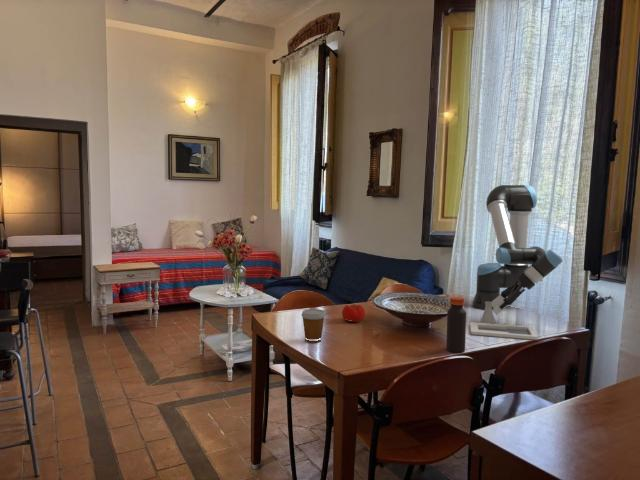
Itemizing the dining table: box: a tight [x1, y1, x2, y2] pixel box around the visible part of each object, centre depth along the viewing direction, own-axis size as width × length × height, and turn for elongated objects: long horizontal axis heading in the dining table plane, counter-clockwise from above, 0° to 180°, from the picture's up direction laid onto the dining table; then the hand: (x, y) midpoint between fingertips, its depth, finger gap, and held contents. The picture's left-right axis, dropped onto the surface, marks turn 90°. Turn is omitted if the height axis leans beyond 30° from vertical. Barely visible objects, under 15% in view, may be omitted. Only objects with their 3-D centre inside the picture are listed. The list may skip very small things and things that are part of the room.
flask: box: [479, 302, 497, 324], centre depth 213 cm, size 7×7×10 cm
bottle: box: [445, 296, 467, 354], centre depth 173 cm, size 7×7×20 cm
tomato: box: [341, 303, 366, 323], centre depth 215 cm, size 11×11×8 cm
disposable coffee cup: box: [301, 308, 326, 344], centre depth 184 cm, size 10×10×12 cm
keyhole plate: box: [469, 321, 540, 341], centre depth 198 cm, size 16×26×2 cm, turn 74°
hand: (492, 309), depth 211 cm, fingers open, 13 cm apart
